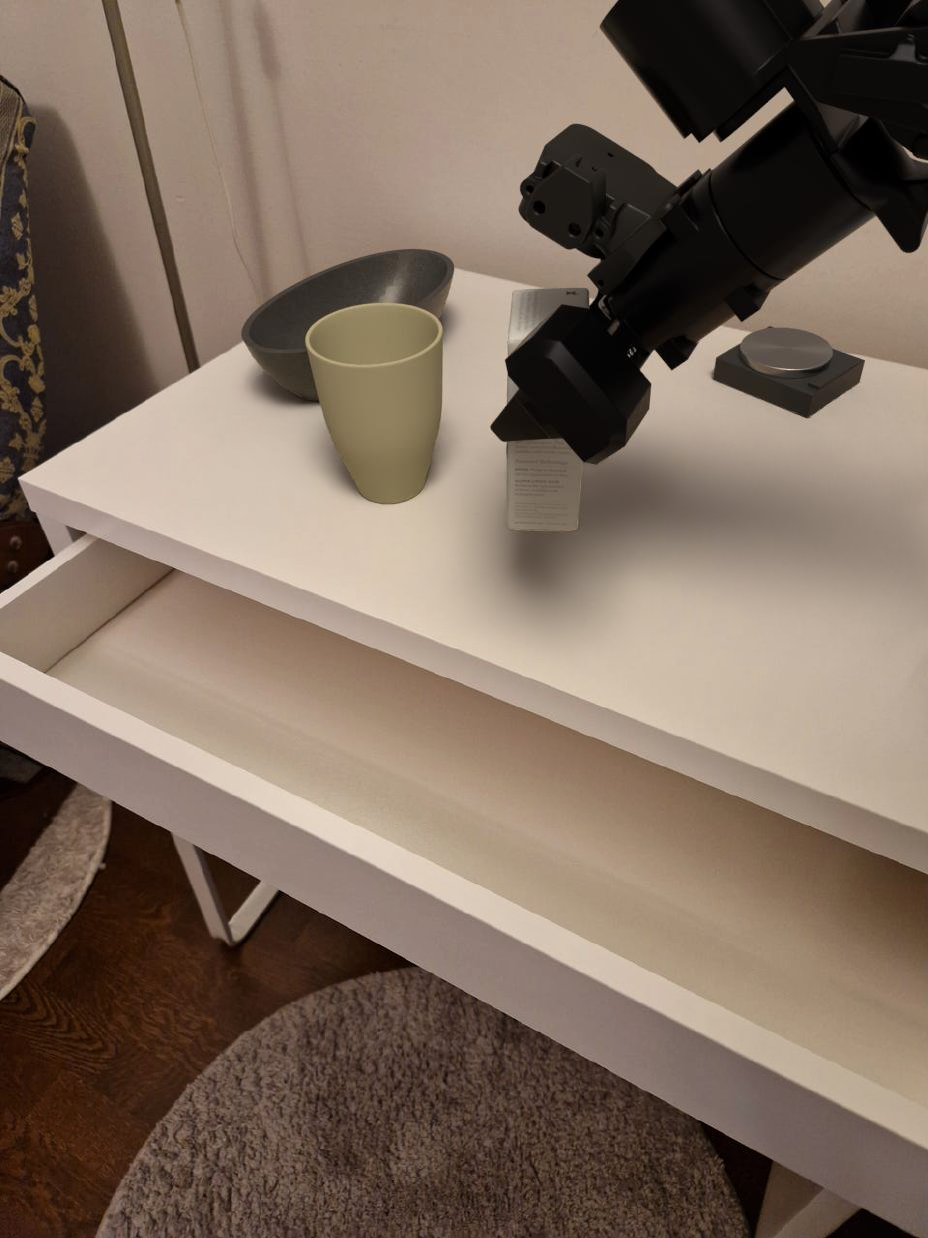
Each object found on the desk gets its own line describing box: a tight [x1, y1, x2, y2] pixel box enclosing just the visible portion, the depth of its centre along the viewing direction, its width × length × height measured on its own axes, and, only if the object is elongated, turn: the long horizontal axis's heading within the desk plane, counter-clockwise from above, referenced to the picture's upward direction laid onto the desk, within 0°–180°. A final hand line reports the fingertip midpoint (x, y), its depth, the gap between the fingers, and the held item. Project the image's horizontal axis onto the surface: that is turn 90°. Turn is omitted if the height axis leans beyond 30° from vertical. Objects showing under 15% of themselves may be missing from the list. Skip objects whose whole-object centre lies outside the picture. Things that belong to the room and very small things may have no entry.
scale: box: [712, 325, 866, 419], centre depth 79 cm, size 9×8×3 cm
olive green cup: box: [305, 303, 444, 505], centre depth 68 cm, size 11×10×12 cm
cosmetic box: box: [505, 287, 590, 532], centre depth 54 cm, size 6×4×12 cm
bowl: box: [240, 248, 455, 402], centre depth 83 cm, size 12×22×6 cm, turn 142°
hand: (523, 400), depth 54 cm, fingers closed on cosmetic box, 7 cm apart
